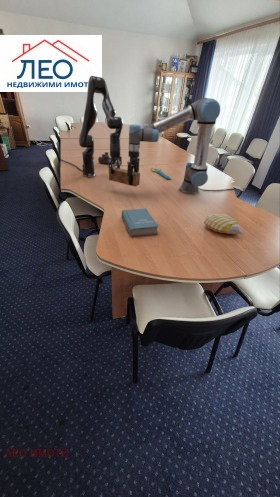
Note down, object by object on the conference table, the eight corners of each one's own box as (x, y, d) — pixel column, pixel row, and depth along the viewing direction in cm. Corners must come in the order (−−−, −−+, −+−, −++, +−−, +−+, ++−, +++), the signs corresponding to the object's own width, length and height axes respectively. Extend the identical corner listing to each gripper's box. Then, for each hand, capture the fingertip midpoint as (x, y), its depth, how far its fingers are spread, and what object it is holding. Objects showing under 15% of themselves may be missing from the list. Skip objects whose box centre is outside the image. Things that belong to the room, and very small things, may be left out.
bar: (108, 180, 168) (108, 168, 163) (113, 177, 173) (113, 166, 168) (135, 186, 160) (136, 175, 155) (139, 184, 165) (140, 172, 159)
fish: (254, 225, 128) (232, 232, 118) (249, 236, 132) (228, 244, 123) (221, 208, 144) (199, 213, 134) (217, 218, 149) (196, 224, 139)
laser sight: (117, 166, 227) (117, 156, 221) (96, 163, 230) (96, 153, 224) (120, 163, 234) (120, 154, 229) (100, 161, 237) (99, 151, 231)
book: (157, 233, 128) (158, 226, 125) (130, 236, 123) (130, 229, 120) (145, 215, 145) (146, 208, 142) (121, 217, 141) (121, 210, 138)
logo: (149, 168, 227) (150, 167, 227) (158, 168, 230) (158, 167, 229) (161, 179, 202) (161, 179, 201) (171, 179, 204) (171, 178, 204)
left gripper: (116, 147, 163) (116, 169, 172) (104, 150, 152) (105, 174, 162) (124, 148, 160) (124, 171, 170) (114, 152, 150) (114, 176, 159)
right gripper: (132, 154, 142) (130, 188, 155) (145, 149, 155) (143, 181, 169) (122, 152, 144) (121, 186, 158) (135, 147, 158) (134, 179, 172)
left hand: (115, 172), depth 166 cm, fingers open, 8 cm apart
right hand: (132, 183), depth 164 cm, fingers closed on bar, 6 cm apart
